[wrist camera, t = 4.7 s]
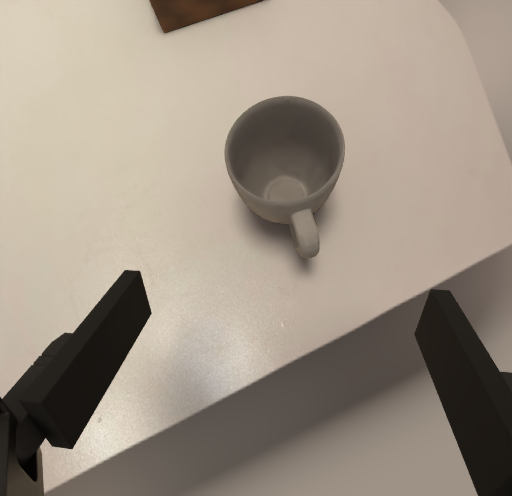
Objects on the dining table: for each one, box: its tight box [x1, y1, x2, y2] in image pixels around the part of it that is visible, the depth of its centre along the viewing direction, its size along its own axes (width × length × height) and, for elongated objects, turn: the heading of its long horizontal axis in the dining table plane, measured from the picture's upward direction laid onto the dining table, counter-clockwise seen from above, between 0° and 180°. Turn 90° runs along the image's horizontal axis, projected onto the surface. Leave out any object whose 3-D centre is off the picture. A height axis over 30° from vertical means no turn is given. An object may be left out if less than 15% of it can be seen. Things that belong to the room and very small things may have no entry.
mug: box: [225, 96, 345, 259], centre depth 26 cm, size 12×9×10 cm
